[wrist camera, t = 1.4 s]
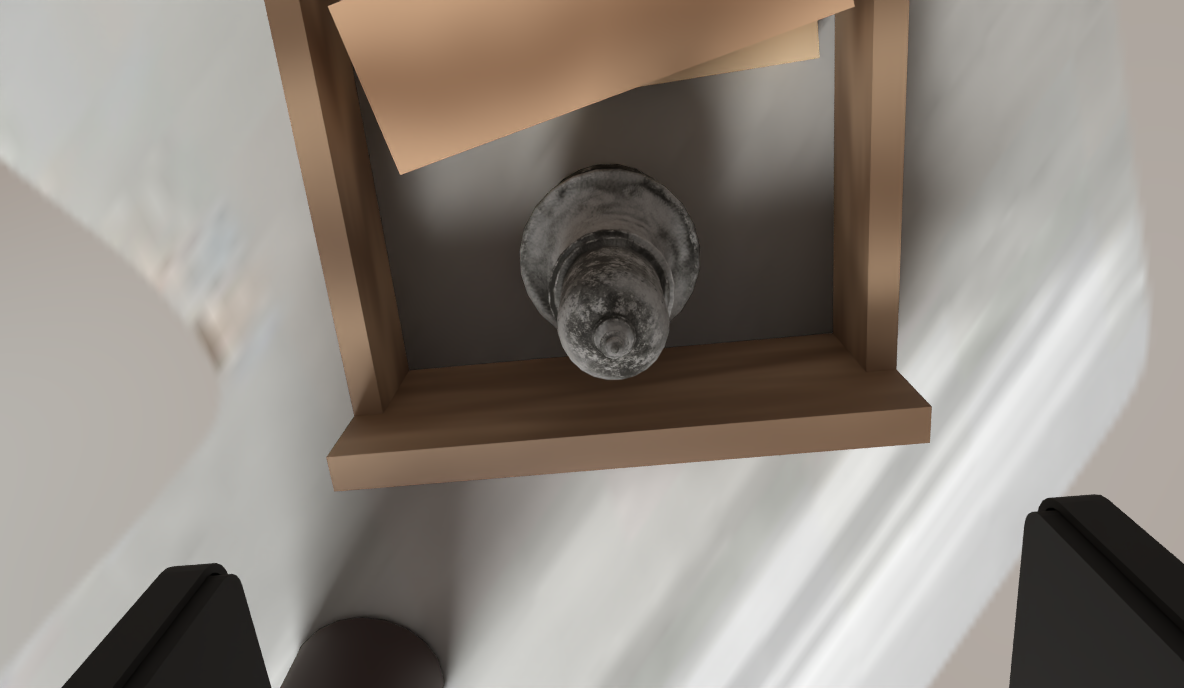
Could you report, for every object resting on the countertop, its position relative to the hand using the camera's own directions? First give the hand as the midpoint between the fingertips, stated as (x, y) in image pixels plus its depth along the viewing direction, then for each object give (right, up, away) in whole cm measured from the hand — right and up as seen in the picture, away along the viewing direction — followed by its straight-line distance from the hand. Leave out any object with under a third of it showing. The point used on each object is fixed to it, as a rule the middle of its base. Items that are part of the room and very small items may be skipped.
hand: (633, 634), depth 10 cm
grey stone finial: (0, +7, +20) cm, 21 cm away
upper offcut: (-1, +14, +15) cm, 21 cm away
